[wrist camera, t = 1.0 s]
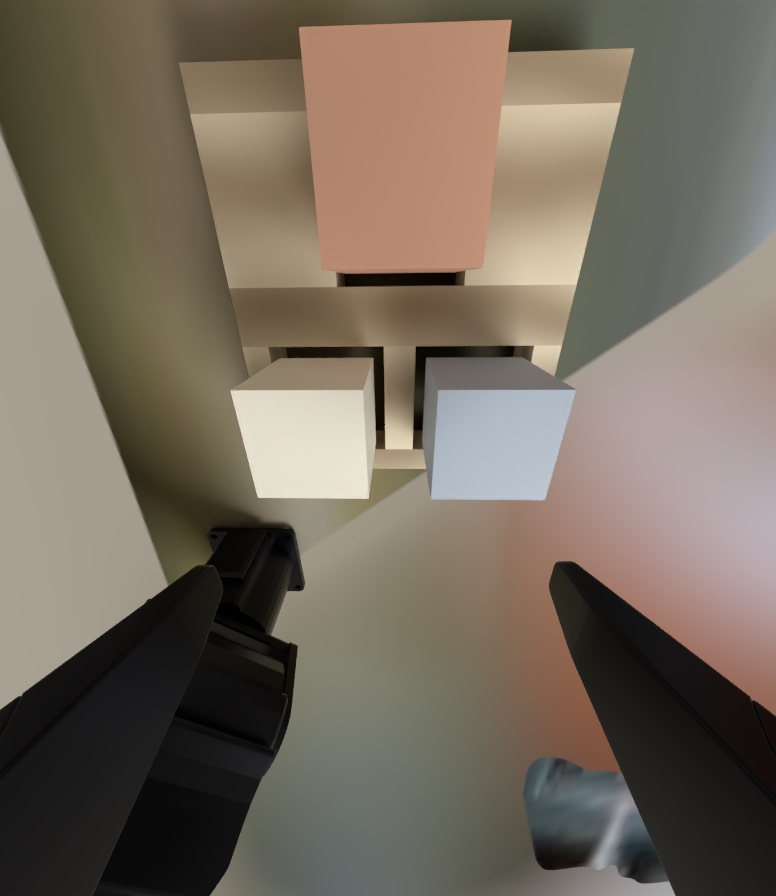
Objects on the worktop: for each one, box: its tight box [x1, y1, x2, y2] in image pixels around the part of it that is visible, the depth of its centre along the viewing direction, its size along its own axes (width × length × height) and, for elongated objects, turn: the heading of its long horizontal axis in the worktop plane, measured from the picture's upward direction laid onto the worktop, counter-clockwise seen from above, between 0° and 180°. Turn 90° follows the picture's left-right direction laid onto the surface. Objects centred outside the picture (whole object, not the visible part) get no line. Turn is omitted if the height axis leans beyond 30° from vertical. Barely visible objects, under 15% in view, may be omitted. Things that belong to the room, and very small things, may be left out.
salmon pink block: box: [299, 20, 512, 274], centre depth 10 cm, size 4×4×5 cm
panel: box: [179, 48, 634, 469], centre depth 15 cm, size 16×15×2 cm
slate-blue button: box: [422, 357, 576, 500], centre depth 14 cm, size 4×4×5 cm
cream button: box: [230, 358, 376, 499], centre depth 14 cm, size 4×4×5 cm
